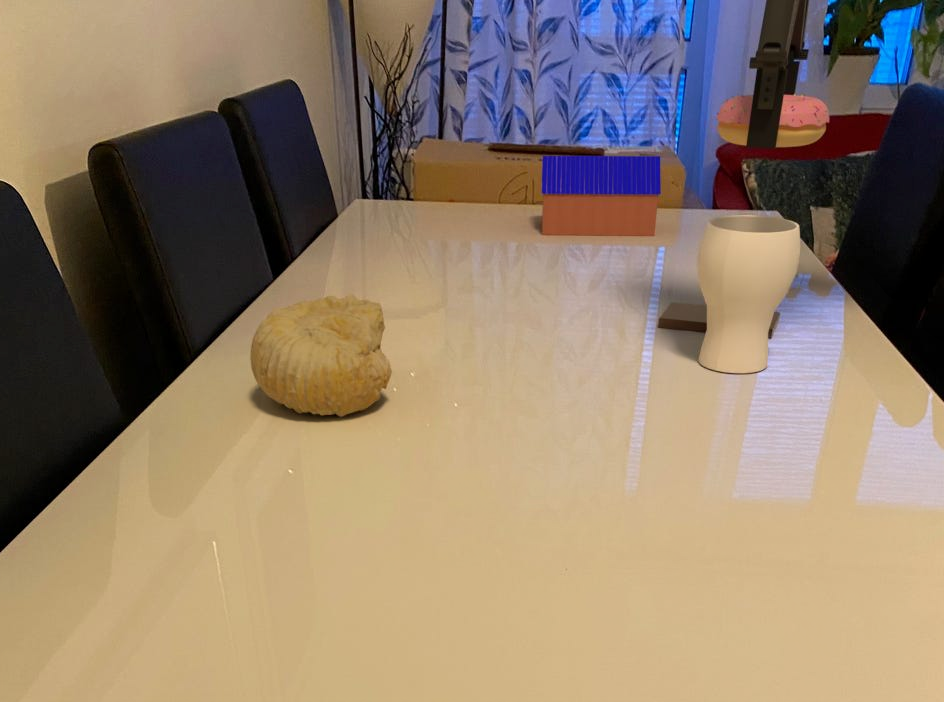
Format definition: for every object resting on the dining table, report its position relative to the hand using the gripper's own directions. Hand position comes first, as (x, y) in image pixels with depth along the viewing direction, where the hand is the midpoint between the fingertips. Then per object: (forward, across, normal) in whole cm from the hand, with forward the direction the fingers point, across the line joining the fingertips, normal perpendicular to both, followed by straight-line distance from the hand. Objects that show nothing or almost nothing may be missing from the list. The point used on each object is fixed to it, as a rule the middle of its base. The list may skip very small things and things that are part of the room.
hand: (768, 139), depth 99 cm
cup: (+23, -1, 0) cm, 23 cm away
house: (+23, -68, -34) cm, 80 cm away
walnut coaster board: (+23, -16, -4) cm, 29 cm away
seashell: (+23, +25, -38) cm, 51 cm away
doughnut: (0, 0, 0) cm, 0 cm away
